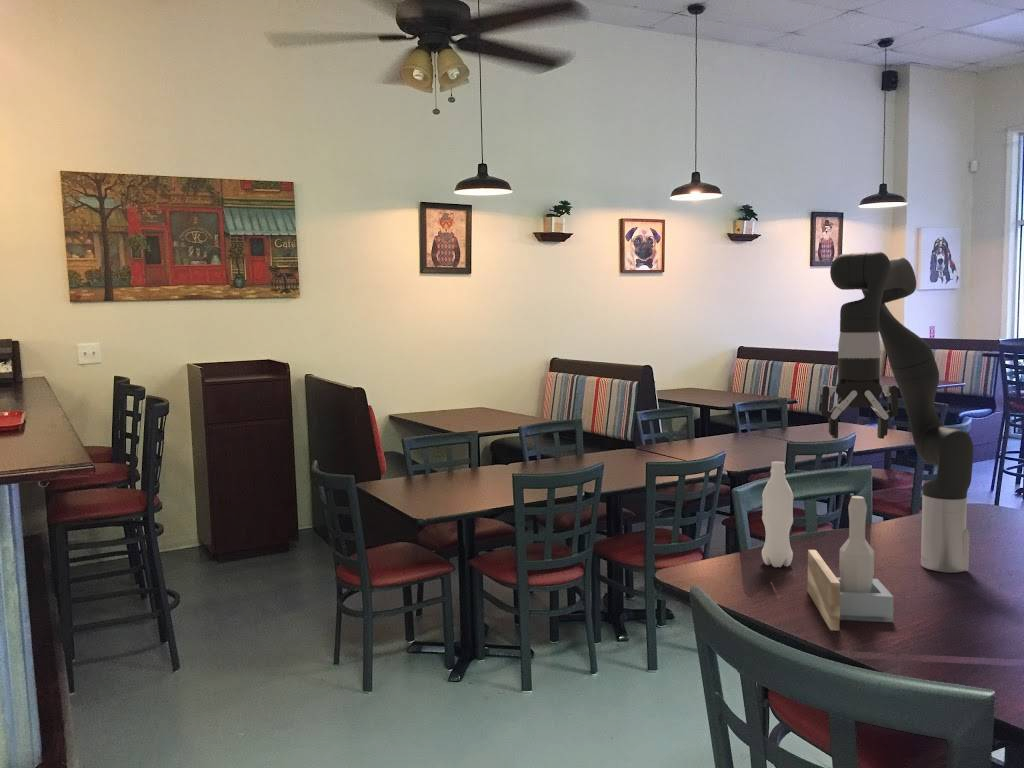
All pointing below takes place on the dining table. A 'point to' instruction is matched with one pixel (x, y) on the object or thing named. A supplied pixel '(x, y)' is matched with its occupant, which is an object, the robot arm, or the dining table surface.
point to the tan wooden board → (824, 589)
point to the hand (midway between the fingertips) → (857, 438)
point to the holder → (867, 604)
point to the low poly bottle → (856, 552)
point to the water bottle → (777, 517)
